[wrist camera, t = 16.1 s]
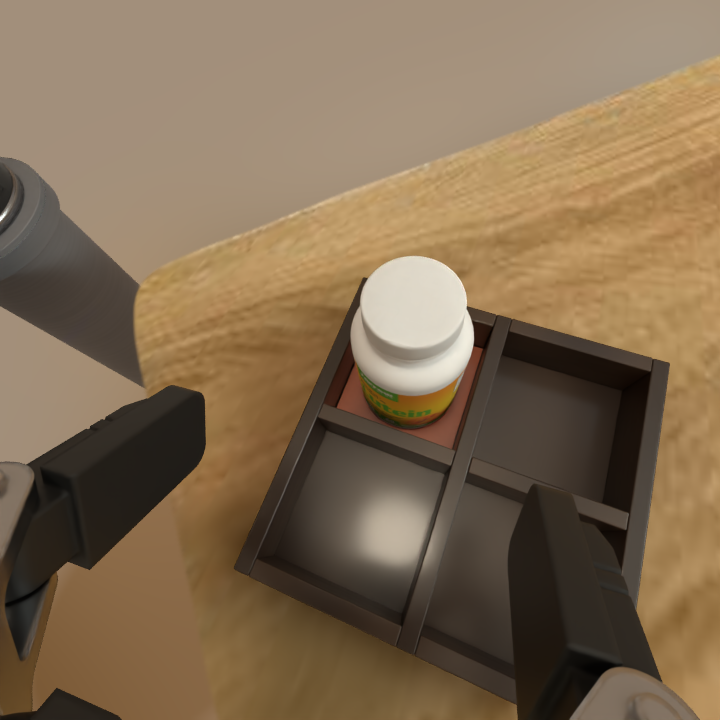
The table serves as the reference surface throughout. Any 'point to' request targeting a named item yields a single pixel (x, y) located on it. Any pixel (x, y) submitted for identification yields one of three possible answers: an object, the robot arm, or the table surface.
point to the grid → (457, 490)
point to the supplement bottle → (411, 340)
